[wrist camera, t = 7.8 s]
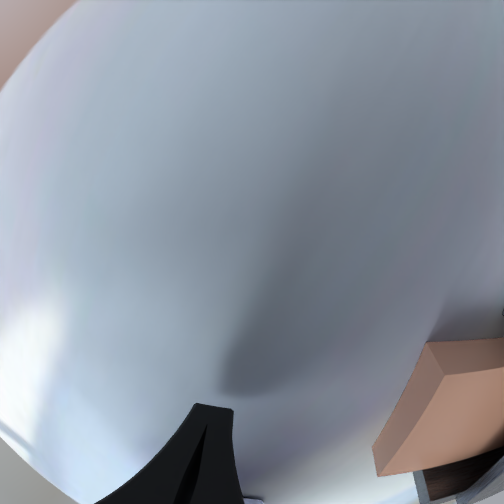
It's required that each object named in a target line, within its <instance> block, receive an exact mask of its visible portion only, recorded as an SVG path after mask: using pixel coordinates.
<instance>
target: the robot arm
mask: <svg viewBox="0 0 504 504" xmlns="http://www.w3.org/2000/svg"><path fill="white" fill-rule="evenodd" d="M233 415H234V411H233V410H232V409H229V408H222V407H216V406H210V405H205V404H199V403H196V404H194V405H193V407H192V409H191V411H190V412H189V414H188V415H187V417H186V418H185V420H184V421H183V423H182V424H181V425H180V427H179V428H178V430H177V431H176V432H175V433H174V435H173V436H172V437H171V438H170V440H169V441H168V442H167V443H166V444H165V446H164V447H163V448H162V449H161V450H160V451H159V452H158V453H157V454H156V455H155V456H154V458H153V459H152V460H151V461H150V462H149V463H148V464H147V465H146V466H145V467H144V468H142V469H141V470H140V471H139V472H138V473H137V474H136V475H135V476H133V477H132V478H131V479H130V480H129V481H127V482H126V483H125V484H123V485H122V486H121V487H119V488H118V489H117V490H115V491H114V492H112V493H111V494H109V495H108V496H106V497H105V498H103V499H101V500H100V501H98V502H96V503H94V504H264V502H263V501H261V500H257V499H247V498H243V496H242V493H241V489H240V485H239V481H238V476H237V471H236V466H235V460H234V453H233V444H232V429H233Z"/></svg>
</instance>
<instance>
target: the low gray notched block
mask: <svg viewBox="0 0 504 504" xmlns="http://www.w3.org/2000/svg"><path fill="white" fill-rule="evenodd" d="M502 315H503V316H504V310H503V312H502ZM413 476H414V480H415V484H416V488H417V493H418V497H419V502H420V504H440V503H444V502H447V501H450V500H454V499H456V502H457V504H473V503H476V502H478V501H481V500H483V499H485V498H488V497H490V496H492V495H494V494H496V493H498V492H501V491H503V490H504V446H502V447H499V448H496V449H494V450H491V451H488V452H485V453H482V454H479V455H476V456H473V457H470V458H467V459H463V460H460V461H456V462H453V463H449V464H445V465H441V466H437V467H432V468H428V469H423V470H418V471H413Z"/></svg>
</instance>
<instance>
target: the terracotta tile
mask: <svg viewBox="0 0 504 504" xmlns="http://www.w3.org/2000/svg"><path fill="white" fill-rule="evenodd" d="M502 446H504V337H500V338H489V339H477V340H461V341H440V342H426V343H425V346H424V348H423V350H422V353H421V355H420V357H419V360H418V362H417V364H416V366H415V369H414V371H413V373H412V375H411V377H410V379H409V381H408V383H407V386H406V388H405V390H404V392H403V394H402V396H401V397H400V399H399V401H398V403H397V405H396V407H395V409H394V411H393V412H392V414H391V416H390V418H389V420H388V421H387V423H386V425H385V427H384V428H383V430H382V432H381V433H380V435H379V437H378V438H377V440H376V442H375V443H374V445H373V446H372V450H373V455H374V460H375V466H376V472H377V477H381V476H388V475H395V474H401V473H407V472H413V471H418V470H423V469H428V468H432V467H437V466H441V465H445V464H449V463H453V462H456V461H460V460H463V459H467V458H470V457H473V456H476V455H479V454H482V453H485V452H488V451H491V450H494V449H496V448H499V447H502Z"/></svg>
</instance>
